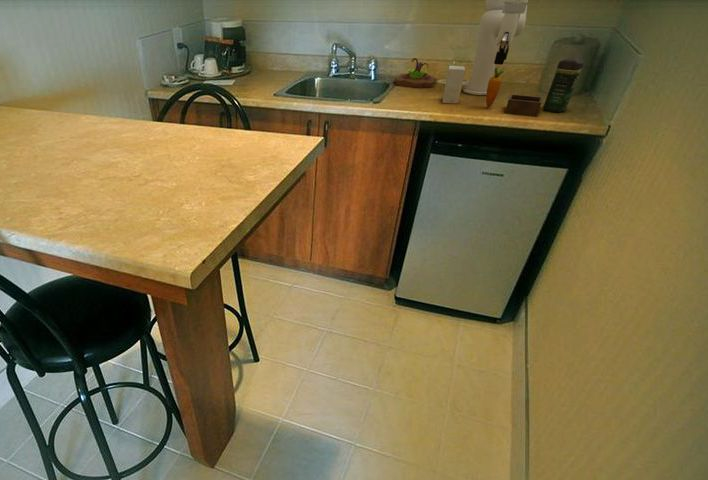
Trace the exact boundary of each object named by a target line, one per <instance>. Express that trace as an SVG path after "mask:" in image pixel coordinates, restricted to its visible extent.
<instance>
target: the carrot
mask: <svg viewBox="0 0 708 480" xmlns="http://www.w3.org/2000/svg"><path fill="white" fill-rule="evenodd" d="M504 72H505V71H504V68H503V67H501V69H499V71H498V67H497V66H495V70H494V76H493V77H491V78H490V79H489V82H488V87H487V92H486V95H485V104H486V107H487V108H488V109H489V108H491V106H492V105H493V104H494V103H495V100H496V99H497V97H498V94H499V91H500V89H501V86H502V82H503V78H501V75H502V74H503V73H504Z"/></svg>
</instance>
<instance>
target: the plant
mask: <svg viewBox="0 0 708 480" xmlns="http://www.w3.org/2000/svg"><path fill="white" fill-rule="evenodd" d="M415 61H416V62H415ZM410 62H411V63H413V62H415V63H416V64H415V69H414V68H411V69H409V68H407V69H406V70H407V71H408V73H401V74H398V75H397V76H395V77H394V85H395V86H399V87H406V88H417V89H418V88H419V89H423V88H428V89H431V88H433V87H434V85H435V84H436V82H437V77H435V76H432V75H429V74H428V70H423V66H425V65H426V68H427V69H429V68H430V64H428V63H427V62H423V63H422V62H419V61H418V58H417V57H413V58H411V60H410Z"/></svg>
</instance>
